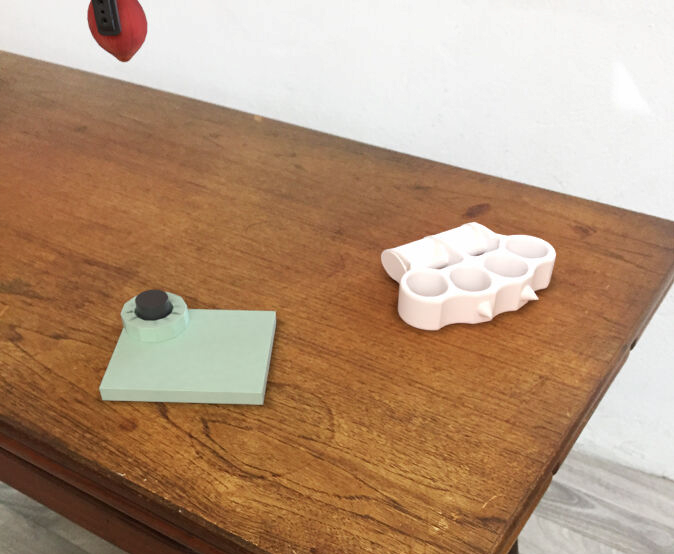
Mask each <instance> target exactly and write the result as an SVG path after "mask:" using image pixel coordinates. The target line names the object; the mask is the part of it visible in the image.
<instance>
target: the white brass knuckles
mask: <svg viewBox="0 0 674 554" xmlns="http://www.w3.org/2000/svg"><path fill="white" fill-rule="evenodd" d="M556 257H557V254H556V250H555V248H554V247H553V245H551V244H550V243H549V242H548V241H545V240H543V239H542V238H539V237H536V236H532V235H528V234H527V235H526V234H512V235H503V234H499V233H496V232H494V231H492V230H491V229H489V228H488V227H486V226H485V225H483V224H480V223H478V222H475V221H473V222H468V223H464V224H461V226H458V227H455V228H452V229H449V230H446V231H442V232H440V233H436V234H432V235H427V236H424V237H423V238H421V239H418V240H415V241H412V242H409V243H408V242H407V243H406V244H402V245H399V246H396V247H393V248H388V249H384V250H383V251H382V252H381V255H380V261H381V264H382V266H383V268H384V270H385V272H386V273H387V274H388V276H389V277H390V278H392V280H394V281H396V282H397V283H398V284H399V287H398V298H397V299H398V302H397V312H398V316H399V317H400V318H401V320H402V321H403V322H404V323H406V324H407V325H409V326H411V327H412V328H415V329H418V330H424V331H440V330H441V328H442V329H443V328H445V327H446V326H450V325H453V324H454V325H455V324H469V325H475V324H481V323H486V322H491V321H492V320H493V318H495V317H496V316H498V315H499V314H503V313H506V312H516V311H518V310H519V309H521V308H522V307H523V306H525V305H526V304H528V302H529V301H537V300H538V301H539V300H540V299H539V297H538V296H537V294H536V293H535V292H536V291H540V290H544V289H547V288H548V286H549V285H550V282H551V278H552V274H553V271H554V266H555V262H556Z"/></svg>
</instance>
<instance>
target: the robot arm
mask: <svg viewBox="0 0 674 554" xmlns="http://www.w3.org/2000/svg"><path fill="white" fill-rule="evenodd" d="M90 1H92V6H93V11H94V16H95V21H96V26H97V30H98V33H99V34H100V35H103V36H117V35H119V33H120V32H121V23H120V18H119V12H118V7H117V2H116V0H90Z"/></svg>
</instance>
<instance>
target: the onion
mask: <svg viewBox="0 0 674 554" xmlns="http://www.w3.org/2000/svg"><path fill="white" fill-rule="evenodd" d="M116 2H117V7H118V12H119V18H120V23H121V32H120V33H119V35H117V36H103V35H100V34H99V33H98V30H97V26H96V21H95V16H94V11H93V6H92V1H91V0H90V1H89V4H88V7H87V12H86V13H87V17H86V20H87V26H88V29H89V31H90V34H91V36H92V38H93V39H94V41H95V42H96V43H97V45H98V46H99V47H100V48H101V49H102V50H104V52H107V53H108V54H110V55H111V56H113V57H114V58H115V59H117V60H118V61H119V62H121V63H128V62H130V61H131V59H133V57H134V56H135V55H136V54H137V53H138V52H139V51H140V50H141V48H142V46H143V45H144V43H145V41H146V38H147V35H148V20H147V19H148V18H147V15H146V13H145V10H144V8H143V5H142V4H141V3H140V0H116Z"/></svg>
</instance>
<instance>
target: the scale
mask: <svg viewBox="0 0 674 554" xmlns="http://www.w3.org/2000/svg"><path fill="white" fill-rule="evenodd" d="M164 292H165V293H167V295H168V298H169V304H170V309H171V312H170V314H169V315H168V316H167V317H166V318H163V319H159V320H156V321H145V320H142V319H141V318H140V317H139V316H138V312H137V307H136V303H135V299H136V297H137V295H135V296H134V297H132V298H131V299H130V300H128V301H126V302H125V303H124V304H123V307H122V309H121V312H120V317H121V322H122V326H123V328H122V330H121V333H120V335H119V337H118V340H117V343H116V344H115V348H114V351H113V352H112V355H111V357H110V360H109V363H108V365H107V368H106V370H105V372H104V375H103V378H102V379H101V382H100V385H99V387H98V389H99V393H100V396H101V400H102V401H112V402H114V401H115V402H147V403H149V402H150V403H151V402H153V403H155V402H156V403H184V404H185V403H186V404H187V403H189V404H222V405H223V404H224V405H225V404H227V405H257V406H258V405H259V406H260V405H261V406H263V405H264V400H265V394H266V389H267V383H268V376H269V370H270V365H271V359H272V358H271V357H272V352H273V346H274V339H275V333H276V327H277V314H276V310H249V309H247V310H246V309H245V310H243V309H242V310H241V309H209V308H208V309H207V308H206V309H205V308H204V309H203V308H188V305H187V303H186V302H185V300H184V299H183V297H182V296H180V295H177V294H175V293H172V292H169V291H164Z"/></svg>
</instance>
